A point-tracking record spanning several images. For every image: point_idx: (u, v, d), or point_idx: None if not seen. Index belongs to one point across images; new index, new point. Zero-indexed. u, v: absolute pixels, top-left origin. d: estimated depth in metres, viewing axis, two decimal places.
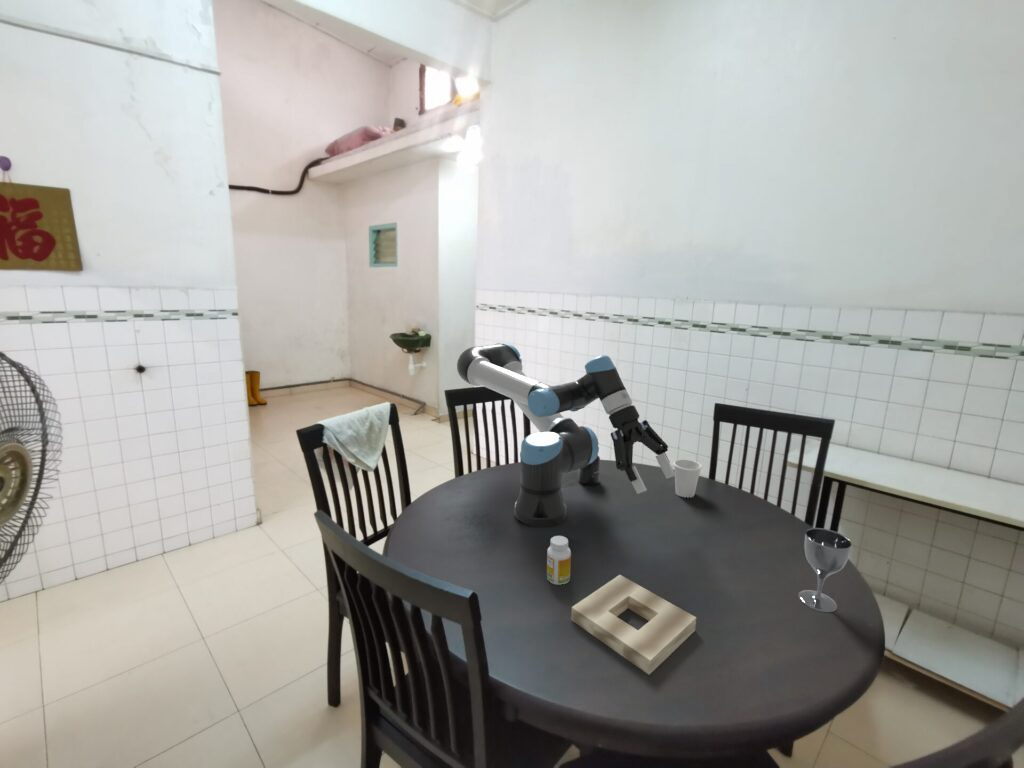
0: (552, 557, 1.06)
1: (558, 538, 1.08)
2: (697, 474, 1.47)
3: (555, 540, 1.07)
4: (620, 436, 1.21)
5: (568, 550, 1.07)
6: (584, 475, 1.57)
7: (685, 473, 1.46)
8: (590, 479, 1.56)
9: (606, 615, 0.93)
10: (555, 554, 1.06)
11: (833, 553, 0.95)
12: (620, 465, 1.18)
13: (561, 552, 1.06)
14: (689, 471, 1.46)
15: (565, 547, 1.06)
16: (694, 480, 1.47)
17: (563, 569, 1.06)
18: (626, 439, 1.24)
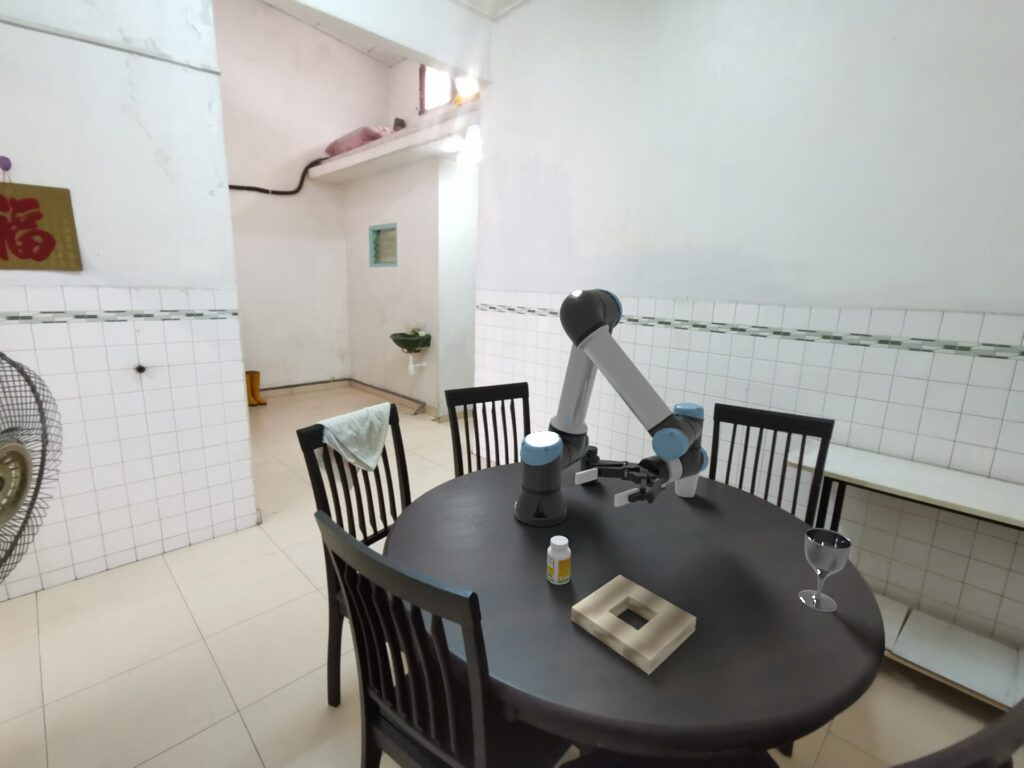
0: (552, 557, 1.06)
1: (558, 538, 1.08)
2: (697, 474, 1.47)
3: (555, 540, 1.07)
4: None
5: (568, 550, 1.07)
6: None
7: None
8: None
9: (606, 615, 0.93)
10: (555, 554, 1.06)
11: (833, 553, 0.95)
12: (652, 498, 1.05)
13: (561, 552, 1.06)
14: None
15: (565, 547, 1.06)
16: (695, 480, 1.47)
17: (563, 569, 1.06)
18: None
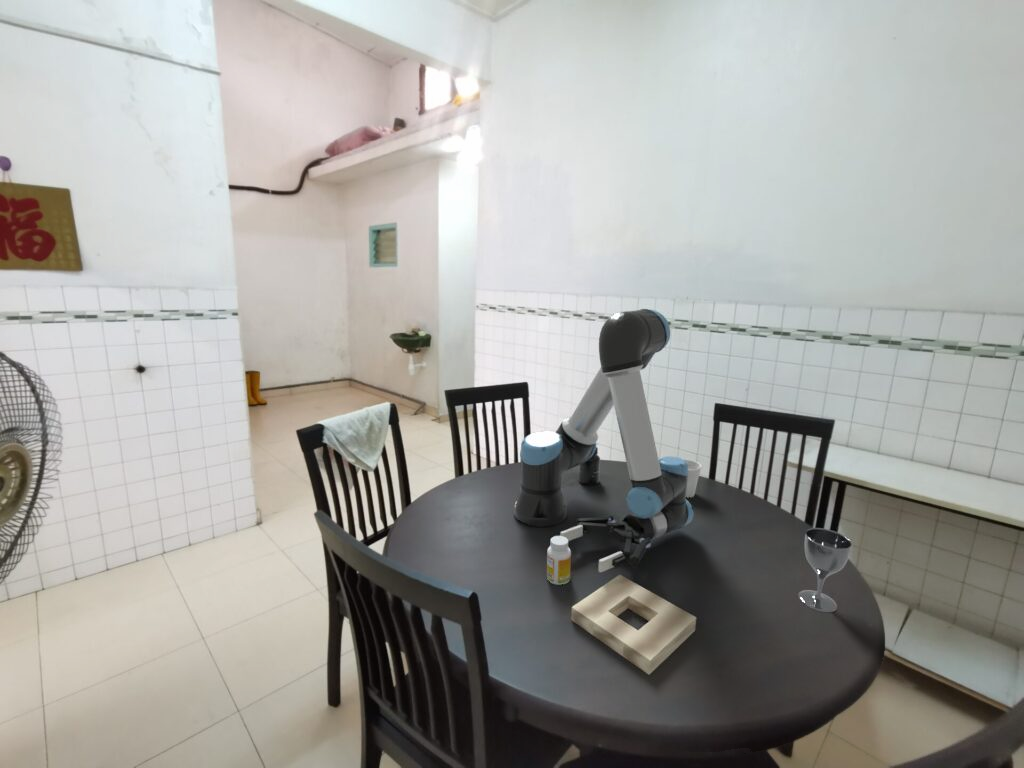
0: (552, 557, 1.06)
1: (558, 538, 1.08)
2: (697, 474, 1.47)
3: (555, 540, 1.07)
4: None
5: (568, 550, 1.07)
6: (584, 475, 1.57)
7: None
8: (590, 479, 1.56)
9: (606, 615, 0.93)
10: (555, 554, 1.06)
11: (833, 553, 0.95)
12: (636, 563, 1.06)
13: (561, 552, 1.06)
14: (689, 471, 1.46)
15: (565, 547, 1.06)
16: (694, 480, 1.47)
17: (563, 569, 1.06)
18: (630, 539, 1.14)
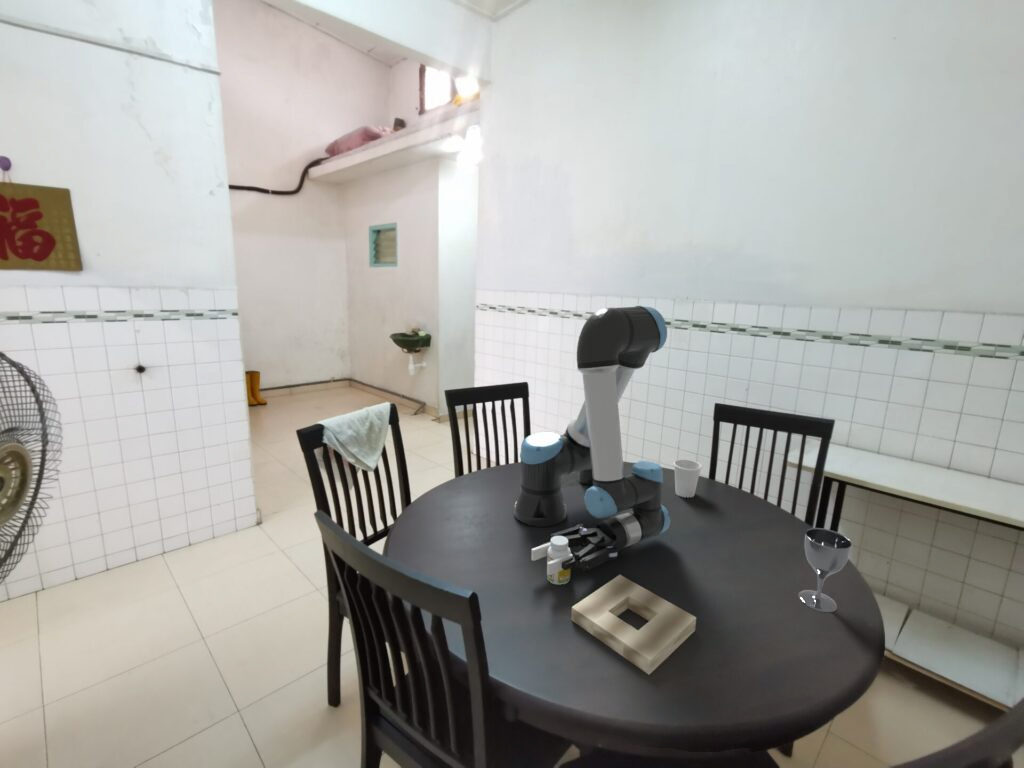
0: (552, 557, 1.06)
1: (558, 538, 1.08)
2: (697, 474, 1.47)
3: (555, 540, 1.07)
4: None
5: (568, 550, 1.07)
6: (584, 475, 1.57)
7: (685, 473, 1.46)
8: (590, 479, 1.56)
9: (606, 615, 0.93)
10: (555, 554, 1.06)
11: (833, 553, 0.95)
12: (585, 566, 1.04)
13: (561, 552, 1.06)
14: (689, 471, 1.46)
15: (565, 547, 1.06)
16: (694, 480, 1.47)
17: None
18: (601, 546, 1.11)
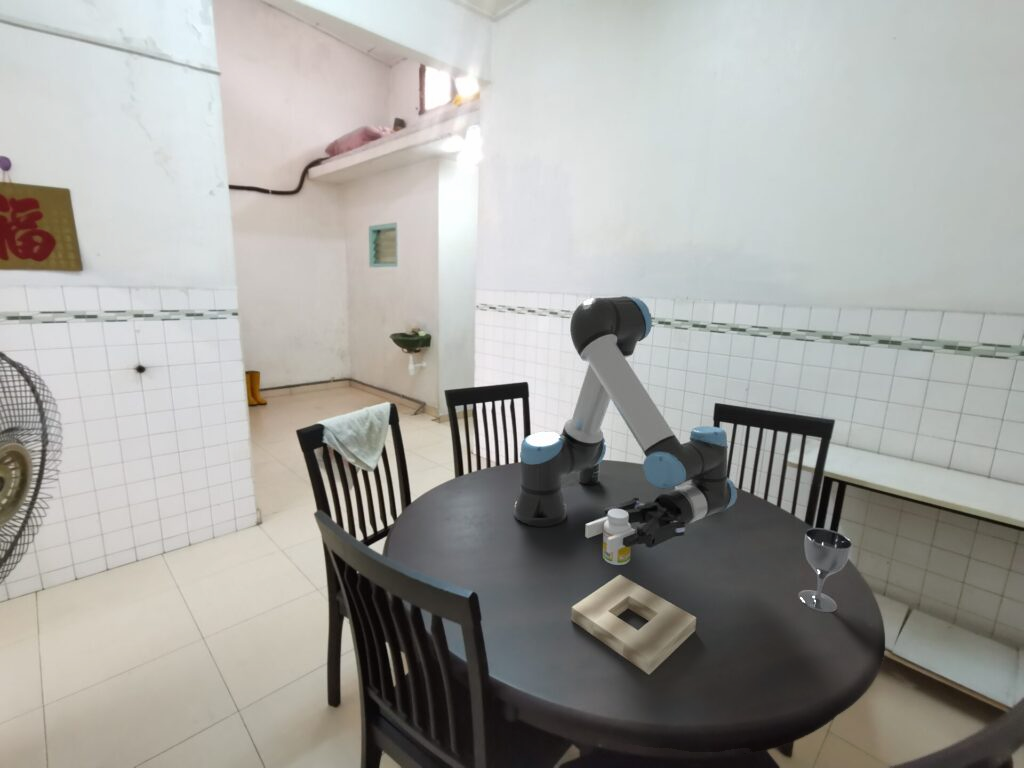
0: (611, 532, 0.91)
1: (616, 511, 0.93)
2: None
3: (613, 513, 0.93)
4: None
5: (628, 525, 0.92)
6: (584, 475, 1.57)
7: None
8: (590, 479, 1.56)
9: (606, 615, 0.93)
10: (614, 529, 0.91)
11: (833, 553, 0.95)
12: (651, 542, 0.89)
13: (621, 526, 0.91)
14: None
15: (626, 521, 0.91)
16: None
17: None
18: (665, 521, 0.96)
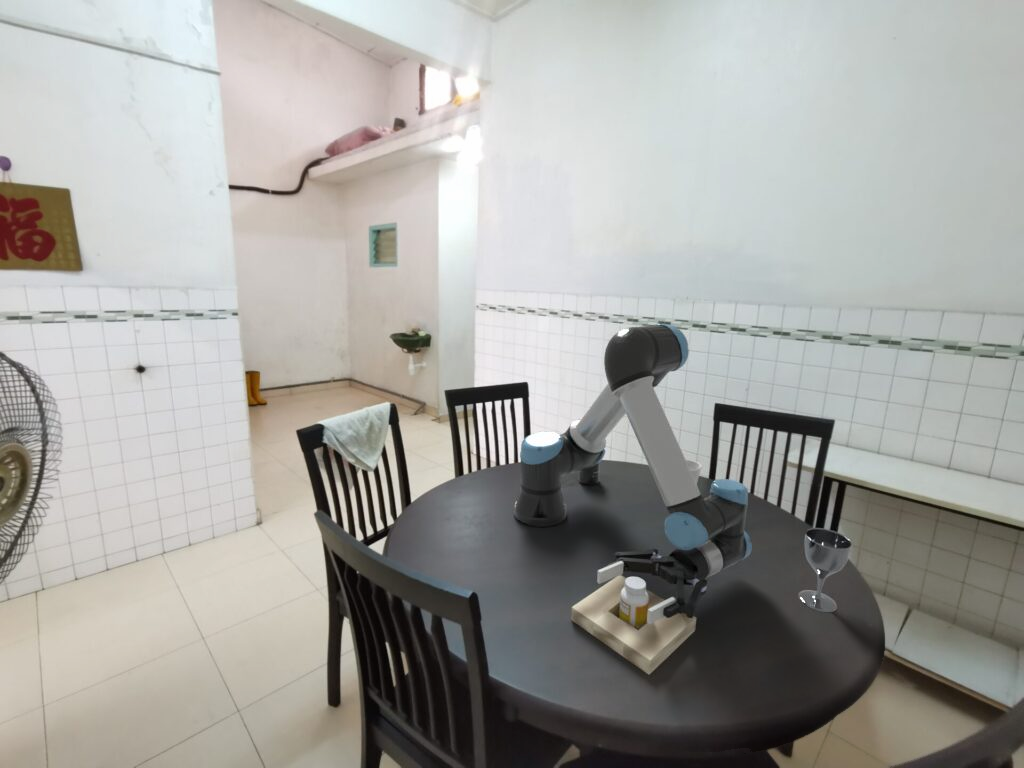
0: (629, 603, 0.91)
1: (633, 580, 0.93)
2: (697, 474, 1.47)
3: (631, 582, 0.93)
4: None
5: (646, 594, 0.92)
6: (584, 475, 1.57)
7: None
8: (590, 479, 1.56)
9: (606, 615, 0.93)
10: (632, 599, 0.91)
11: (833, 553, 0.95)
12: (693, 612, 0.87)
13: (639, 596, 0.91)
14: None
15: (643, 591, 0.91)
16: None
17: (640, 617, 0.91)
18: None
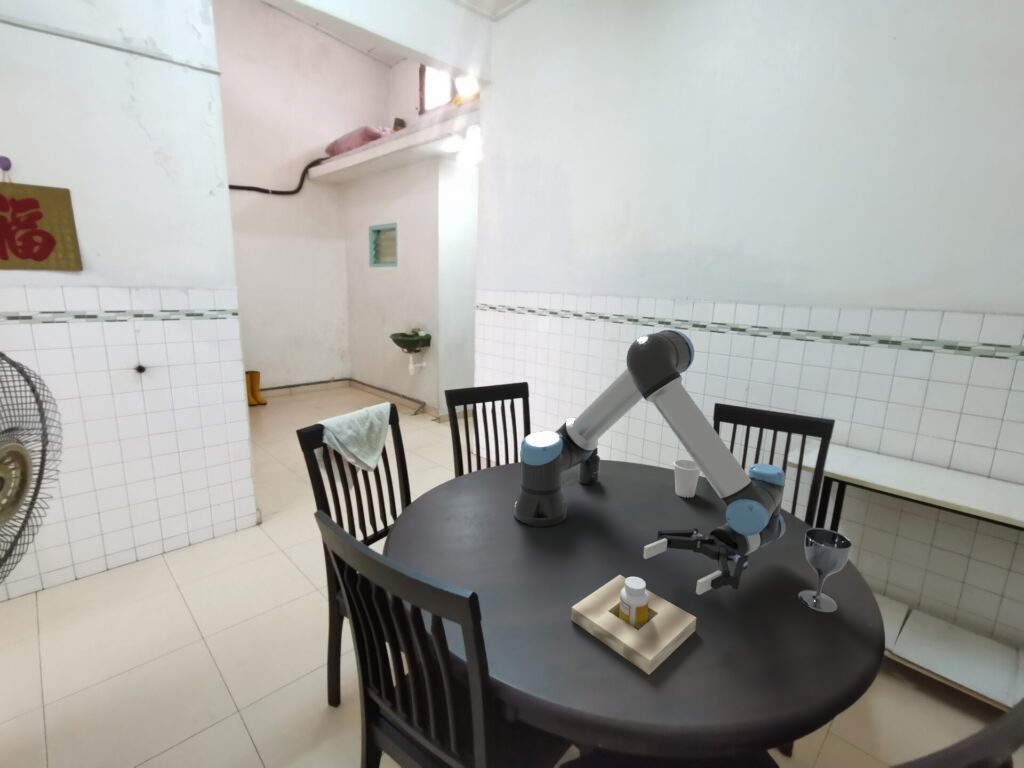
0: (629, 603, 0.91)
1: (633, 580, 0.93)
2: (697, 474, 1.47)
3: (630, 582, 0.93)
4: None
5: (645, 594, 0.93)
6: (584, 475, 1.57)
7: (685, 473, 1.46)
8: (590, 479, 1.56)
9: (606, 615, 0.93)
10: (632, 599, 0.91)
11: (833, 553, 0.95)
12: (738, 584, 0.93)
13: (639, 596, 0.91)
14: (689, 471, 1.46)
15: (643, 591, 0.91)
16: (694, 480, 1.47)
17: (640, 617, 0.91)
18: None
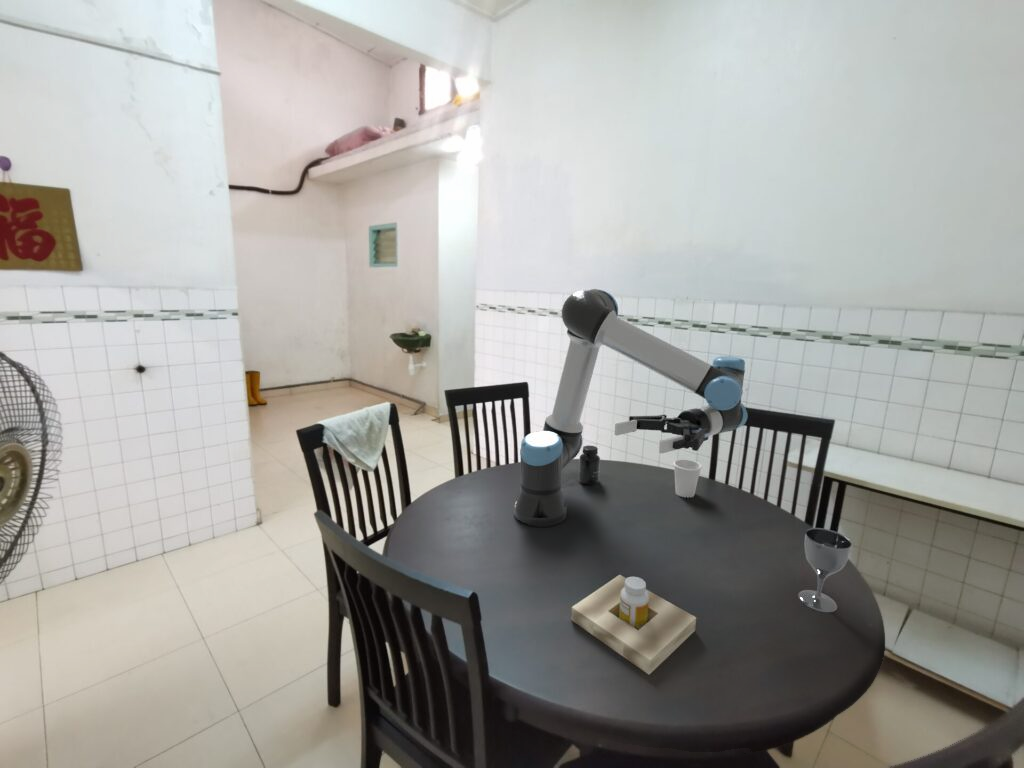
0: (629, 603, 0.91)
1: (633, 580, 0.93)
2: (697, 474, 1.47)
3: (630, 582, 0.93)
4: None
5: (646, 594, 0.93)
6: (584, 475, 1.57)
7: (685, 473, 1.46)
8: (590, 479, 1.56)
9: (606, 615, 0.93)
10: (632, 599, 0.91)
11: (833, 553, 0.95)
12: (697, 445, 1.03)
13: (639, 596, 0.91)
14: (689, 471, 1.46)
15: (643, 591, 0.91)
16: (694, 480, 1.47)
17: (640, 617, 0.91)
18: None
